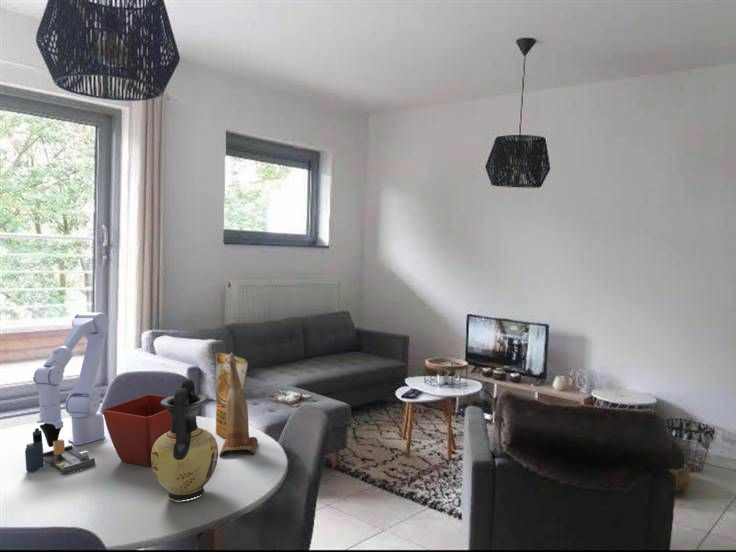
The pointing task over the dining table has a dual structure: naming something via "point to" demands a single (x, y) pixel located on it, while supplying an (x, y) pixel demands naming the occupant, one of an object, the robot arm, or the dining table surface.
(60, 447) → the orange fader
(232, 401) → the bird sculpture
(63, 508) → the dining table surface
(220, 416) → the pancake mix bag
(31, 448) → the vaping device
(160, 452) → the amphora
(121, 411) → the plant pot
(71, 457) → the mixer console
